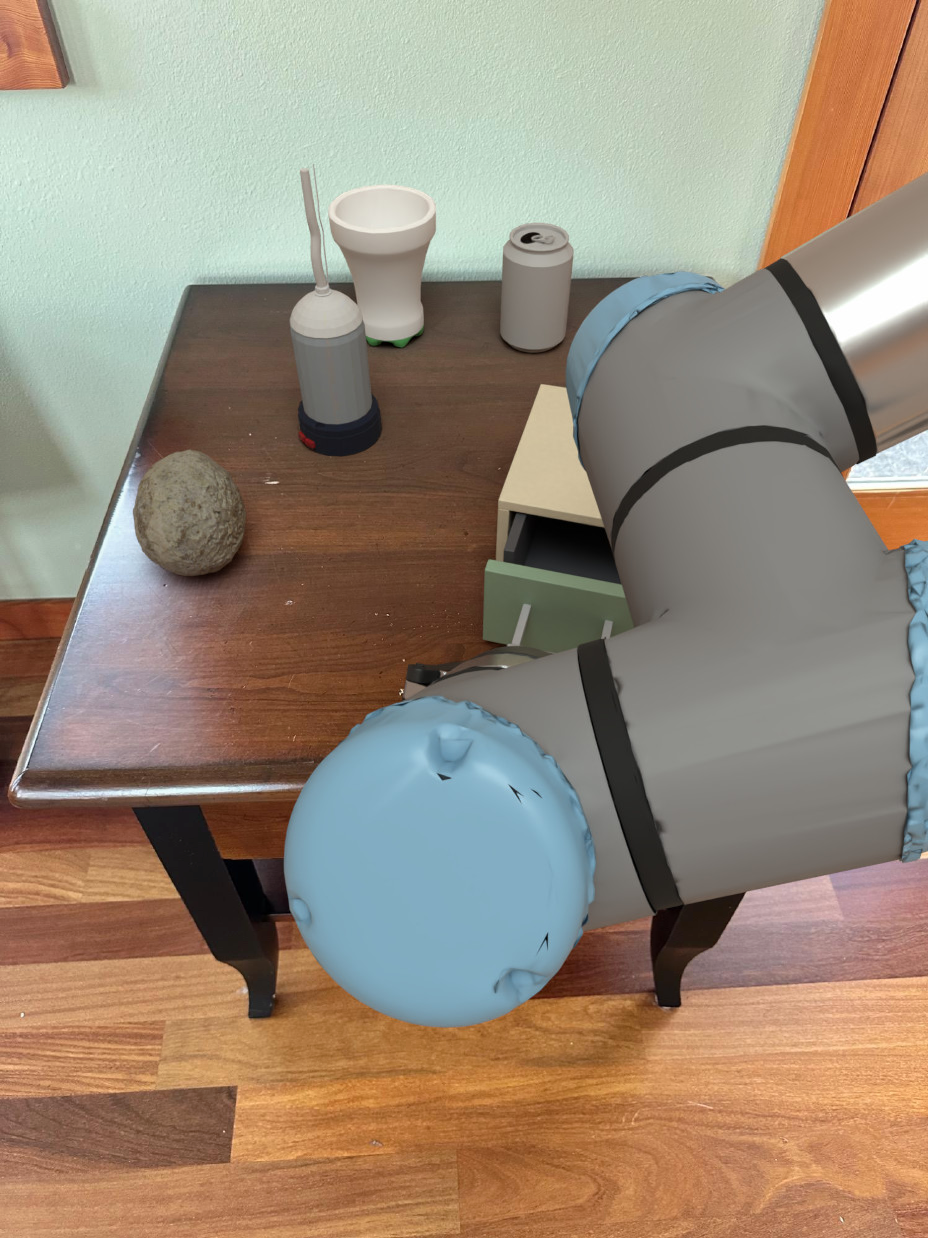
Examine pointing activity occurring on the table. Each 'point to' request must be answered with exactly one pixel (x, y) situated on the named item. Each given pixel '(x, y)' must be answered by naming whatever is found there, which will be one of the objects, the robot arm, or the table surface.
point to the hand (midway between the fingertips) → (552, 673)
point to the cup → (385, 255)
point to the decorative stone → (189, 514)
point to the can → (535, 286)
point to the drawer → (553, 587)
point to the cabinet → (546, 470)
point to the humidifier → (331, 359)
